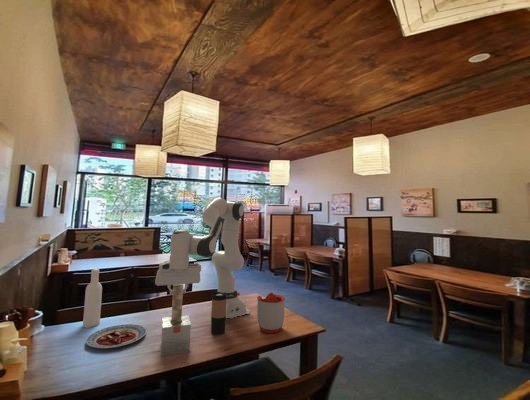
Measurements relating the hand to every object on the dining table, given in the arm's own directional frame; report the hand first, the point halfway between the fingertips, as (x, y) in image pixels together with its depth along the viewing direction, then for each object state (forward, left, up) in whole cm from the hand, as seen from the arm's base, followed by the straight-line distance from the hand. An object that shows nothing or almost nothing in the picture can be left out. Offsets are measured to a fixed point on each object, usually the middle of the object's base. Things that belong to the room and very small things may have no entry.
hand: (177, 293), depth 122 cm
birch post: (0, 0, -16) cm, 16 cm away
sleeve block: (0, 0, -24) cm, 24 cm away
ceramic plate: (+26, -18, -25) cm, 40 cm away
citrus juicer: (-50, -6, -25) cm, 56 cm away
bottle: (+42, -41, -25) cm, 64 cm away
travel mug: (-22, -10, -25) cm, 35 cm away
